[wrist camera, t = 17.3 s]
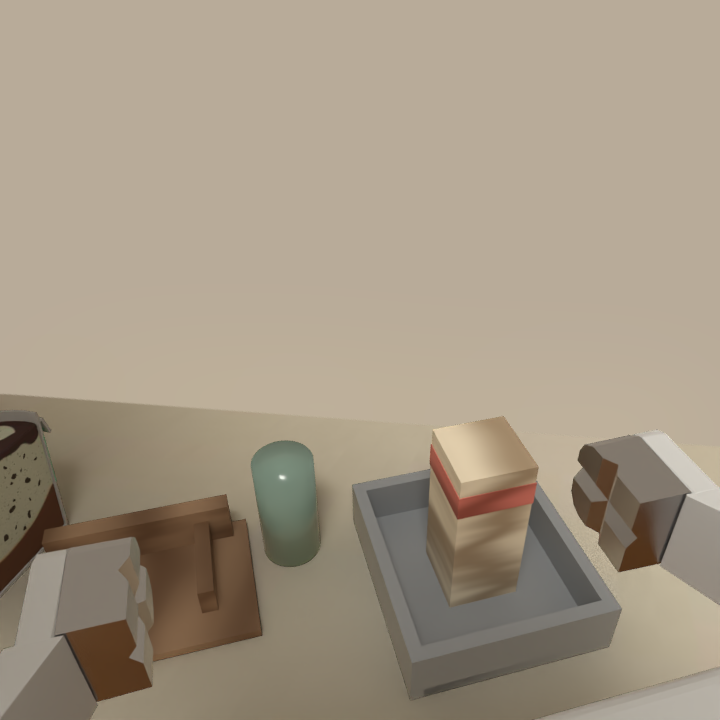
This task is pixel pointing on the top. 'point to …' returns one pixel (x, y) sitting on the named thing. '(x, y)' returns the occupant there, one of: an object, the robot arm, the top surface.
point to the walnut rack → (184, 571)
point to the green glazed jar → (287, 502)
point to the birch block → (478, 508)
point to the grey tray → (484, 617)
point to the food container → (25, 493)
